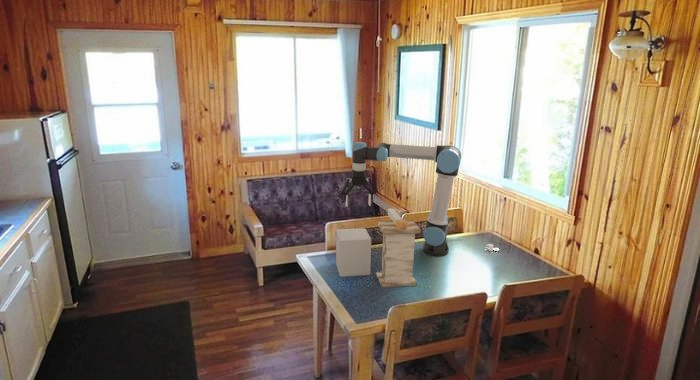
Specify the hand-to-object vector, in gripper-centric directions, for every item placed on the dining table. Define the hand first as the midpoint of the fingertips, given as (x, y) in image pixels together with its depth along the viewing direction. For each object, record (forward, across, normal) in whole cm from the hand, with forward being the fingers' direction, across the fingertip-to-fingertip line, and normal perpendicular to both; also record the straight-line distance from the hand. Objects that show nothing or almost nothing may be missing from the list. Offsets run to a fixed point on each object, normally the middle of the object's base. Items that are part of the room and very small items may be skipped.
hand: (358, 205), depth 259 cm
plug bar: (-2, -12, +36) cm, 38 cm away
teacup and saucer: (+28, -80, +15) cm, 86 cm away
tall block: (+28, +8, +24) cm, 38 cm away
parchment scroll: (+28, -12, +40) cm, 51 cm away
